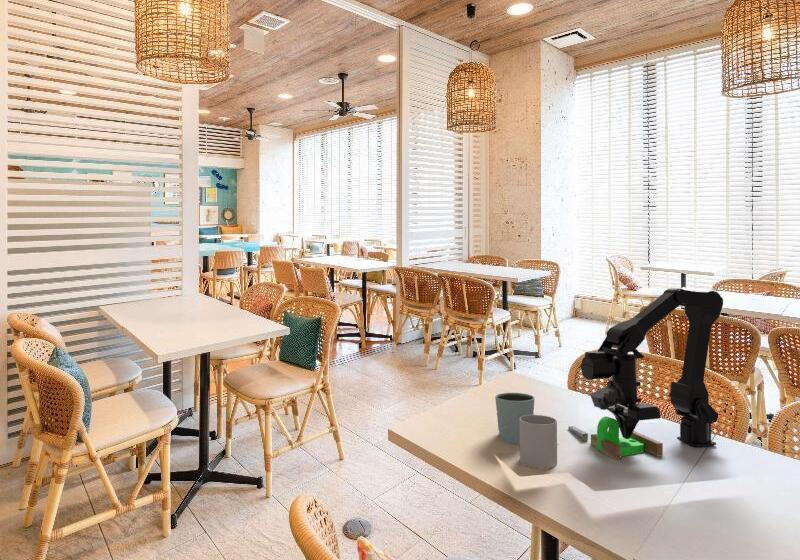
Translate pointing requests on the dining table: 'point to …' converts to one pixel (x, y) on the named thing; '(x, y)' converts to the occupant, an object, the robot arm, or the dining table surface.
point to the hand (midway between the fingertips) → (626, 438)
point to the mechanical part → (617, 437)
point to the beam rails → (615, 450)
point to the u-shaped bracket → (579, 433)
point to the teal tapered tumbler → (512, 414)
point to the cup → (538, 441)
